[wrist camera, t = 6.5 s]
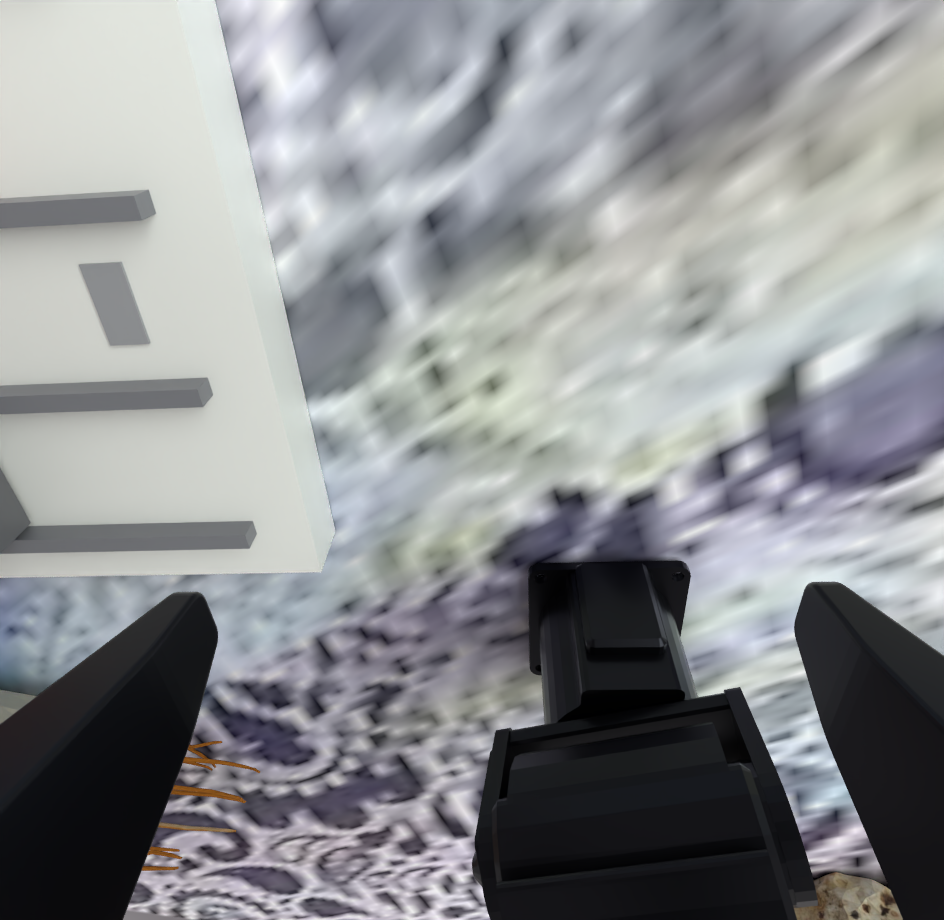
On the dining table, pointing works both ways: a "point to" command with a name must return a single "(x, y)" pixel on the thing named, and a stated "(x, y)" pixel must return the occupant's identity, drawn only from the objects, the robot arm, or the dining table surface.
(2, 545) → the grey cube
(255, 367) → the white flat slab
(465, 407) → the dining table surface
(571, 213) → the dining table surface
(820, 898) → the rock
